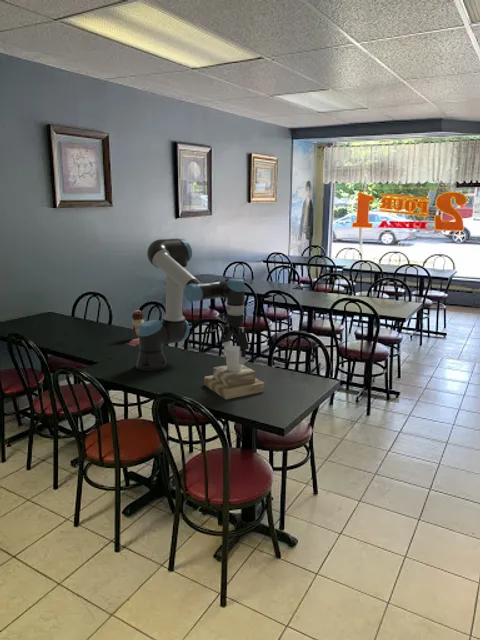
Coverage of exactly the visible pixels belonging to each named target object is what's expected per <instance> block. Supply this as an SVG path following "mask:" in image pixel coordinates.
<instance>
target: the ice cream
mask: <svg viewBox="0 0 480 640" xmlns="http://www.w3.org/2000/svg"><path fill="white" fill-rule="evenodd" d="M131 317H132V320H131V324H132V325H133V328H134V330H135V335H136V336H137V338H133V339H131V340H130V341H129V342H126V343H125V345H129V346H132V347H133V346H134V347H136V346H137V345H138V346H139V326H140V325H141V324H142V323H143V322H145V320H144V317H145V314H144V313H143V312H142V311H141V310H140V309H136V310H134V311H133V312H132V316H131Z"/></svg>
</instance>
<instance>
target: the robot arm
mask: <svg viewBox="0 0 480 640" xmlns="http://www.w3.org/2000/svg"><path fill="white" fill-rule="evenodd" d="M146 253H147V259H148V261H149V263H150V264H151V265H152V266H153V267H154V268H155V269H160V270H161V271H162V272H163V273H164V274H166V277H165V278H166V280H165V281H166V284H165V287H166V288H165V291H166V292H165V314H164V315H163V316H162V320H159V319H153V320H152V319H150V320H146V321H144V322H143V323H142V324H141V325H140V326H139V335H138V337H139V344H138V347H139V352H138V357H137V360H136V362H135V363H136V367H135V368H136V369H138V370H140V371H142V372H143V371H144V372H157V371H161V370H163V369H165V368H167V360H166V357H165V355H164V351H163V347H164V345H169V344H175V343H180V342H183V341H185V340H186V339H188V337H189V335H190V325H189V322H188V321H187V320H186V317H185V316H184V315H183V305H184V304H183V300H184V299H183V298H184V297H185V299H186V300H187V301H188V302H199V301H205V300H212V299H219V298H222V299H226V312H227V314H226V321H224V328H223V330H222V335H221V338H220V339H221V340H222V341H223V356H224V357H226V347H229V346H231V338H232V336H233V335H234V337H235V338H236V341H237V344H238V346H240V350H239V364H242V365H244V364H246V355H247V354H246V353H247V352H246V351H247V350H248V351H249V349H250V346H249V343H248V342H249V341H248V338H247V337H248V336H247V333H246V327H245V326H244V327H243V326H242V324H243V323H244V320H245V319H244V318H245V317H244V316H245V315H244V313H245V281H244V279H242V278H236V277H235V278H229V279H227V280H225V281H224V280H222V279H212V280H211V281H207V282H206V281H205V282H201V281H200V280H199V279H198V278H196V277H195V276H194V275H193V274H192V273H191V272H190V271H188V270H187V269H186V268H187V267H188V262H190V261H191V259H192V258H193V249H192V247H191V245H190V243H189V242H188V240H186V239H184V238H166V239H165V238H163V239H162V238H161V239H156V240H154V241H152V242H151V243H150V245H148V248H147V251H146Z"/></svg>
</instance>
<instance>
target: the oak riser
mask: <svg viewBox="0 0 480 640" xmlns="http://www.w3.org/2000/svg"><path fill="white" fill-rule="evenodd" d="M256 374H257V373H256V371H255V370H254V369H251V368H250V367H248V366H246V365H244V364H242V368H241V370H240V371H237V372H232V371H228V370H227V364H226V365H219V366H215V367H213V374H212V375H207V376H204V386H206V387H207V388H209V389H210V390H211V391H213V393H216V394H217V395H219V396H220V397H221V398H223V399H224V400H230V399H234V398H239V397H245V396H248V395H253V394H257V393H264V392H265V382H264V381H262V380H260V379H258V378H257V377H256Z"/></svg>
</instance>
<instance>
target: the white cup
mask: <svg viewBox="0 0 480 640" xmlns="http://www.w3.org/2000/svg"><path fill="white" fill-rule="evenodd" d="M239 350H240V346H239V345H230V346H229V347H226V356H225V361H226V362H225V363H226V365H227V370H228V371H232V372H237V371H240V370H241V368H242V365H243V364H239Z"/></svg>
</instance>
